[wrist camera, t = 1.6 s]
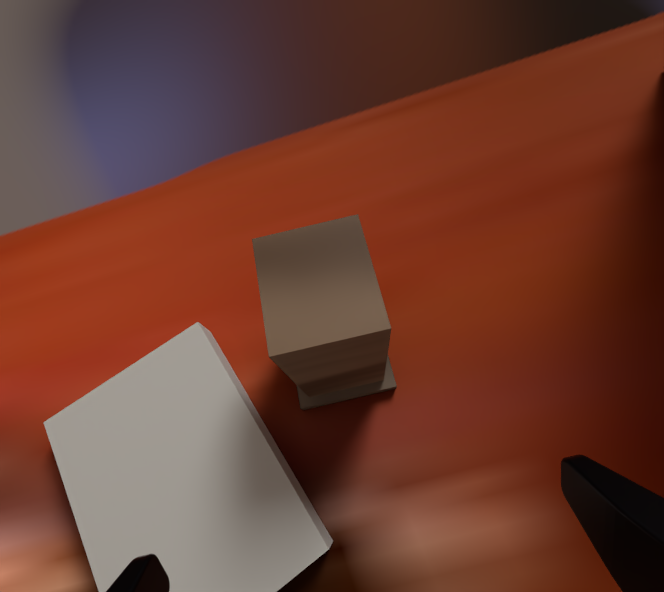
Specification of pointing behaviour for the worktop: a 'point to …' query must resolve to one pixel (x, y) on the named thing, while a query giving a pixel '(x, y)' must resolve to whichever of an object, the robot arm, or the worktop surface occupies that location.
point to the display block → (184, 476)
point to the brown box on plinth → (324, 312)
